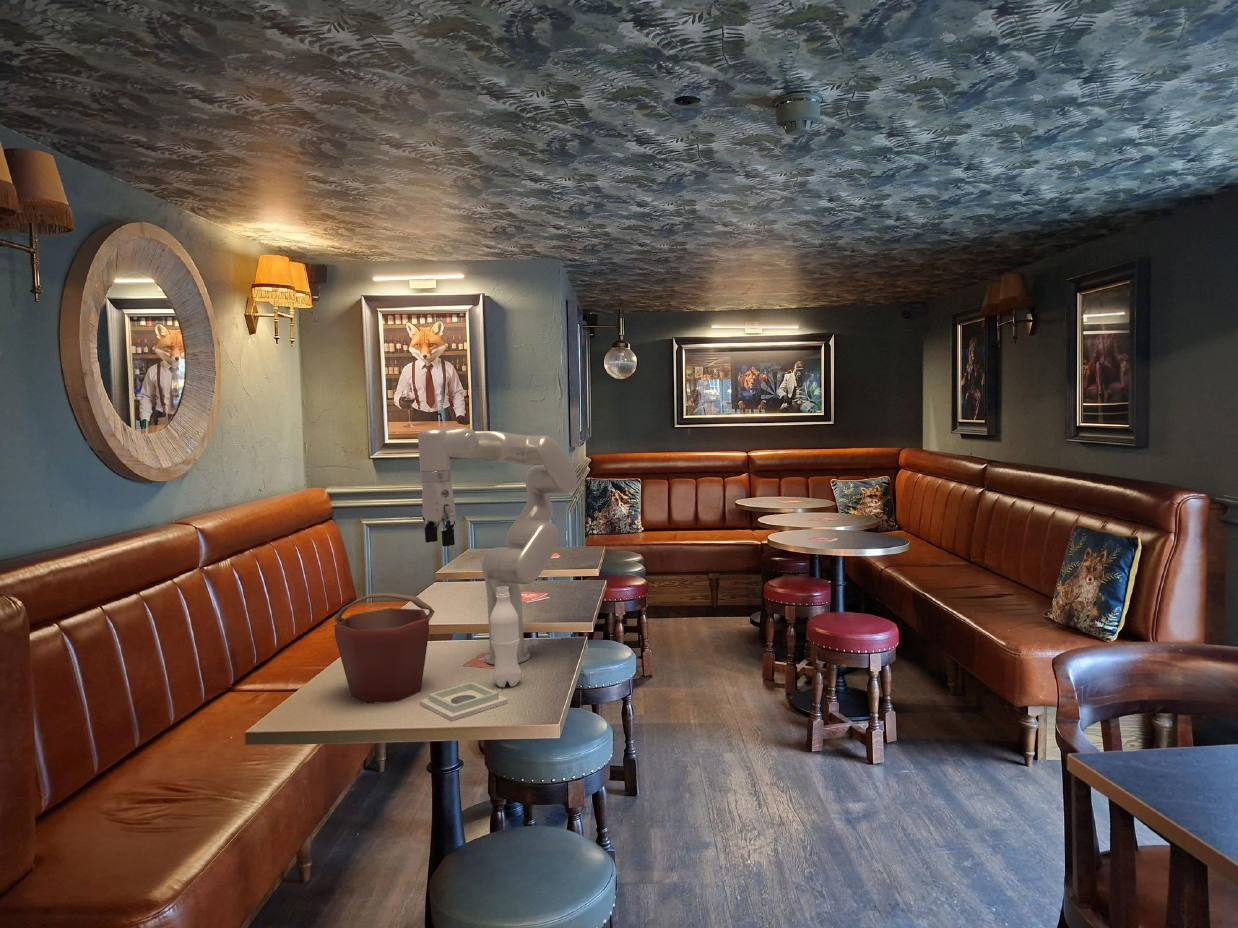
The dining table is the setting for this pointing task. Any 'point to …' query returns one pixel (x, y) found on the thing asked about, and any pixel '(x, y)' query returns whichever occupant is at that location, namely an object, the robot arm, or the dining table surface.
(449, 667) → the dining table surface
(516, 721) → the dining table surface
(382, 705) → the dining table surface
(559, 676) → the dining table surface
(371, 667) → the bucket
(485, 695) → the plate
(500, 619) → the water bottle
